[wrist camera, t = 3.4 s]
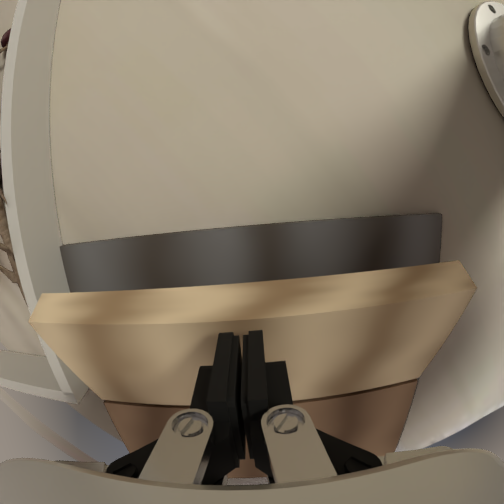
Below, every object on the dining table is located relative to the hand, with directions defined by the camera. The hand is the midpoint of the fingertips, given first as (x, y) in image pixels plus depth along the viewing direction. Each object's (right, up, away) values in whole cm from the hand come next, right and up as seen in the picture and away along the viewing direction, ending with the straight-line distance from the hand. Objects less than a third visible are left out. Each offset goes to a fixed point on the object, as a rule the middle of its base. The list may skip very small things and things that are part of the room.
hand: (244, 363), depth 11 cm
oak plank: (0, 0, +5) cm, 5 cm away
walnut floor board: (+1, -5, +8) cm, 10 cm away
